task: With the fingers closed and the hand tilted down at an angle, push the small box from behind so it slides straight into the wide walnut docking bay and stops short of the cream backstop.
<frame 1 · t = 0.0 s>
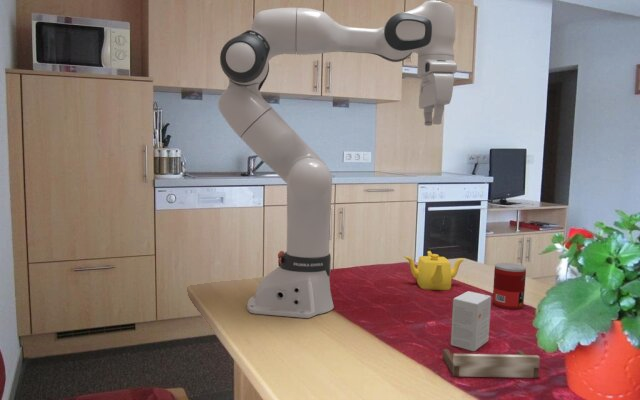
hand: (432, 125, 131), 48 cm above the table, tool pointing down, fingers open, 8 cm apart
bay: (486, 364, 103), on the table
canned food: (507, 306, 142), on the table
small box: (469, 344, 114), on the table
teapot: (433, 285, 161), on the table
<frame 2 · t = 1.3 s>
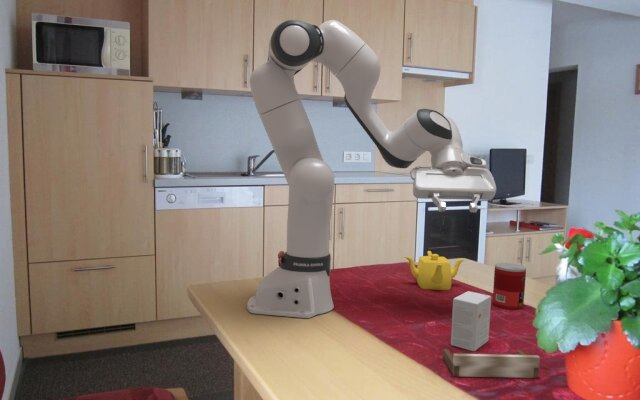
hand: (458, 210, 125), 27 cm above the table, tool tilted 45°, fingers open, 6 cm apart
nothing on the table moved.
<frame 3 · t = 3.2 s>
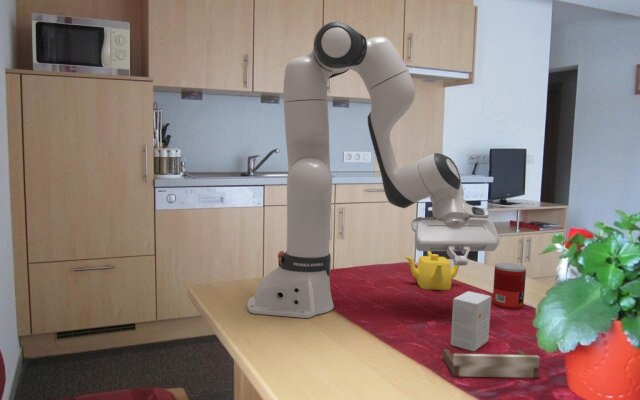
hand: (461, 264, 123), 15 cm above the table, tool tilted 45°, fingers closed
nothing on the table moved.
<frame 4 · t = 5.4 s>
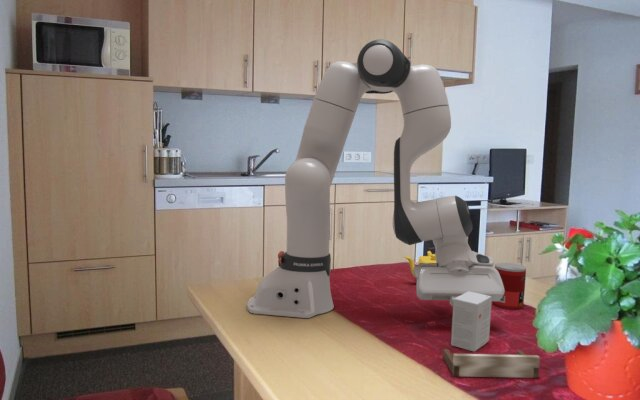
hand: (464, 316, 118), 4 cm above the table, tool tilted 45°, fingers closed
small box: (469, 344, 114), on the table, touching gripper
everything else where it was.
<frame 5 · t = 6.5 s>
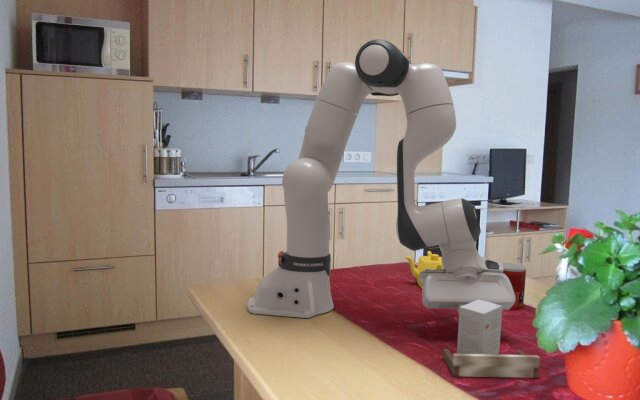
hand: (473, 325, 112), 4 cm above the table, tool tilted 45°, fingers closed
small box: (477, 355, 107), on the table, touching gripper
everything else where it was.
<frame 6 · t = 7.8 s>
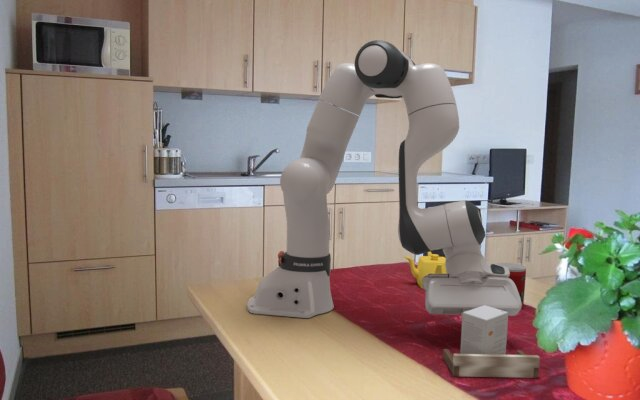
hand: (478, 332, 108), 4 cm above the table, tool tilted 45°, fingers closed
small box: (482, 363, 104), on the table, touching gripper
everything else where it was.
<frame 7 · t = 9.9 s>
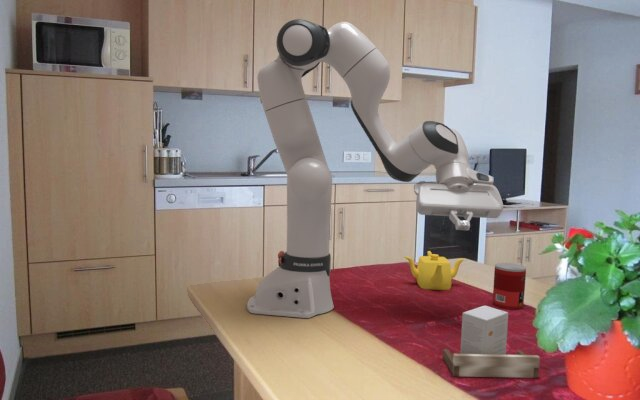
hand: (463, 228, 120), 24 cm above the table, tool tilted 45°, fingers closed
small box: (482, 363, 104), on the table
everything else where it was.
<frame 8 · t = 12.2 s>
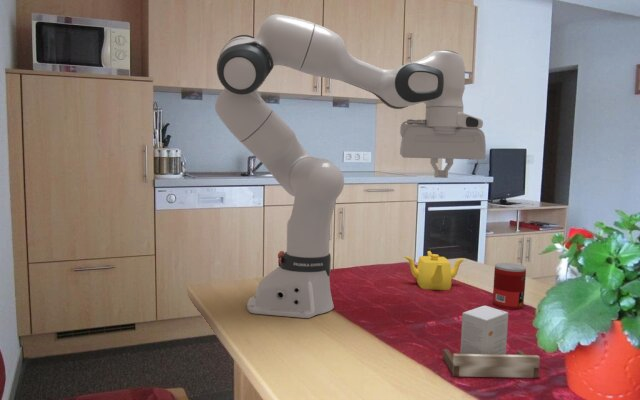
hand: (440, 177, 127), 35 cm above the table, tool pointing down, fingers closed
nothing on the table moved.
at the end: small box inside the target area on the bay (0.8 cm from its centre), point 0.0 cm above the bay's base; small box tilted 0° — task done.
